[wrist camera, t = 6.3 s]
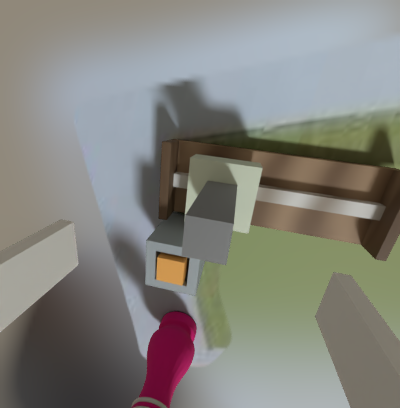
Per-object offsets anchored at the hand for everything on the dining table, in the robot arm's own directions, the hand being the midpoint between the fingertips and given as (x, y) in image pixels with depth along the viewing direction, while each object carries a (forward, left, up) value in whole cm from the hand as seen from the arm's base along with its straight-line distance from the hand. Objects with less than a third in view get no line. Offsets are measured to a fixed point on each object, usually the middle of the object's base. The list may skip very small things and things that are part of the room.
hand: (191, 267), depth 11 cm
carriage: (0, 0, -15) cm, 15 cm away
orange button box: (+4, +9, -18) cm, 20 cm away
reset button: (+4, +8, -15) cm, 18 cm away
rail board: (-6, 0, -18) cm, 19 cm away
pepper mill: (+4, +27, -18) cm, 32 cm away
